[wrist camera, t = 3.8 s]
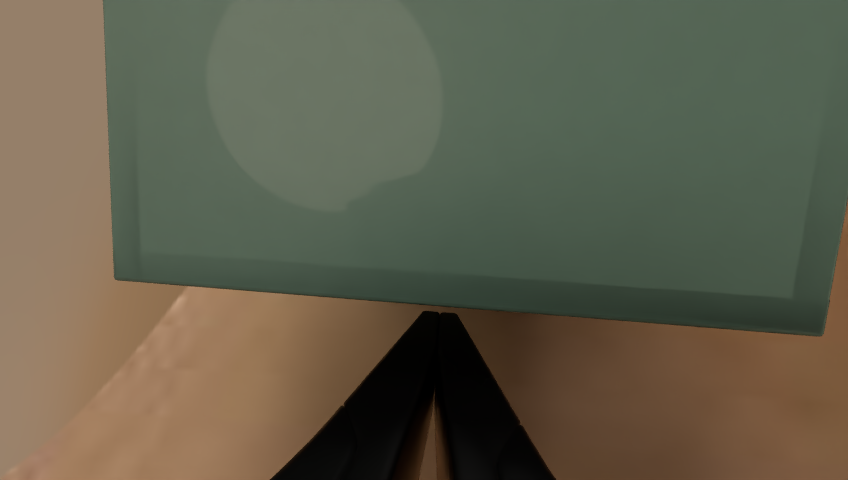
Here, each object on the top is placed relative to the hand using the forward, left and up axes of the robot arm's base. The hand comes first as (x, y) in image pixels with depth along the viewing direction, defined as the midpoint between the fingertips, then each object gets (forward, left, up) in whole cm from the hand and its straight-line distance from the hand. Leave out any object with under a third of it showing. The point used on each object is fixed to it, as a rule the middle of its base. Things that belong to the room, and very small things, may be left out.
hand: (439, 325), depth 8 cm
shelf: (+7, -3, -6) cm, 10 cm away
